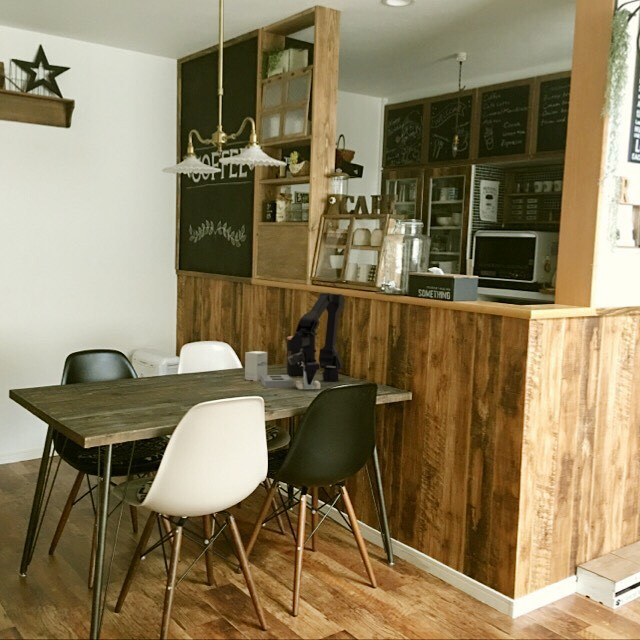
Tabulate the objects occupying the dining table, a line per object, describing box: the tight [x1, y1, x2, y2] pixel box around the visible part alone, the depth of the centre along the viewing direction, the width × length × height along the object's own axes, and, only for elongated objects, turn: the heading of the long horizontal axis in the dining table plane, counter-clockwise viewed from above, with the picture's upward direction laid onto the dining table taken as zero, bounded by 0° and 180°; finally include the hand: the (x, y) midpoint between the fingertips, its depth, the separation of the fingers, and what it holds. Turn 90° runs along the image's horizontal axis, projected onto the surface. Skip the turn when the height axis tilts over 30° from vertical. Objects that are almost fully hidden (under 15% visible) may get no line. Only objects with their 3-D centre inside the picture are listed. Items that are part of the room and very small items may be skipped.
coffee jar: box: [286, 335, 304, 377], centre depth 345 cm, size 11×11×18 cm
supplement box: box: [244, 350, 268, 382], centre depth 331 cm, size 7×7×13 cm
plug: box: [303, 371, 314, 388], centre depth 307 cm, size 4×4×8 cm
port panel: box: [260, 374, 294, 389], centre depth 315 cm, size 12×16×4 cm
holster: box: [295, 380, 321, 390], centre depth 307 cm, size 9×7×3 cm
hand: (308, 383), depth 307 cm, fingers closed on plug, 3 cm apart
